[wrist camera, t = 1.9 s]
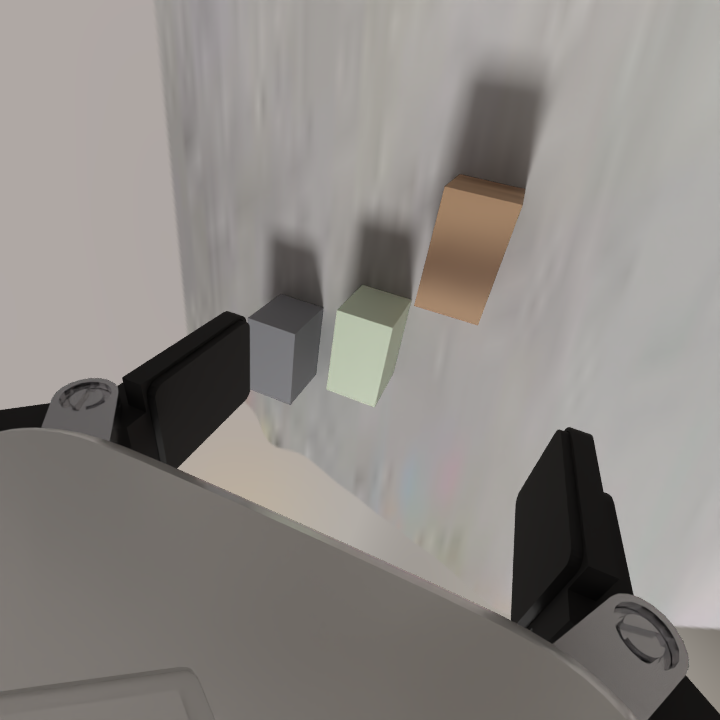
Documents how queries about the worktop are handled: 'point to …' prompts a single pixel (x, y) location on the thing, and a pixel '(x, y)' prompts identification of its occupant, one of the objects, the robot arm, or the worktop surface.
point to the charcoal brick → (284, 347)
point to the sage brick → (366, 344)
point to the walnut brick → (468, 246)
